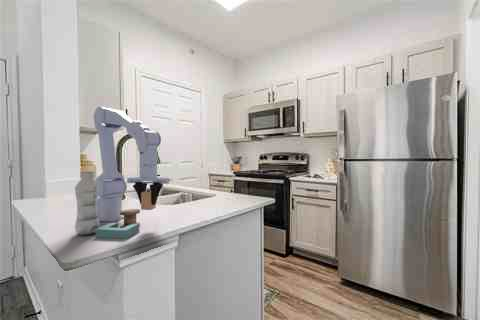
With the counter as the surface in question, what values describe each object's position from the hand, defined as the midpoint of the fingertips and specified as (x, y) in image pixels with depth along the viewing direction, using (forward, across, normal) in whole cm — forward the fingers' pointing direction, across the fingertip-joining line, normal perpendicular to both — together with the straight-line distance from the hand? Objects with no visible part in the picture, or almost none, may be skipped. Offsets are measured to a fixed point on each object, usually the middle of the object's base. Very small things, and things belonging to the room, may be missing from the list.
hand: (148, 204), depth 77 cm
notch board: (+8, -7, -7) cm, 13 cm away
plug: (+2, 0, 0) cm, 2 cm away
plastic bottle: (+9, -16, -8) cm, 20 cm away
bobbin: (+8, -7, 0) cm, 11 cm away
